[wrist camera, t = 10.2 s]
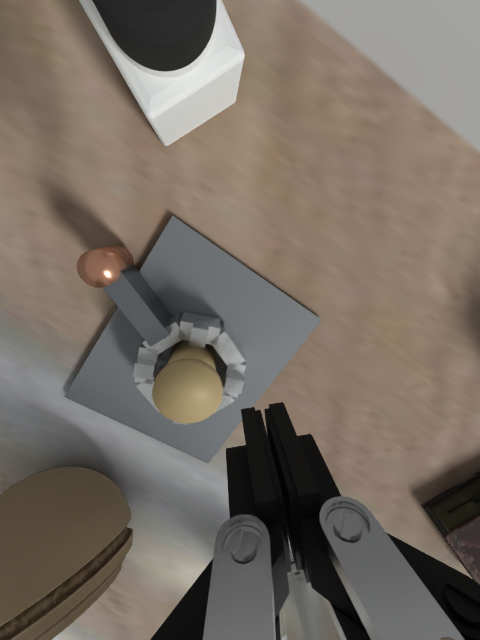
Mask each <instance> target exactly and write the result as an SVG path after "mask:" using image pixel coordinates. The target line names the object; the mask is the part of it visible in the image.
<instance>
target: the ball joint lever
mask: <svg viewBox="0 0 480 640" xmlns="http://www.w3.org/2000/svg"><path fill="white" fill-rule="evenodd" d="M133 263H134V262H133V257H132V255H131V253H130V252H129V251H128V250H127V249H126V248H124V247H122V246H118V245H113V246H108V247H104V248H99V249H94V250H90V251H87V252H85V253H83V254H82V255H81V256H80V258H79V260H78V262H77V270H78V273H79V275H80V277H81V278H82V280H83V281H84V282H85V283H87V284H88V285H90V286H93V287H98V288H101V287H102V288H103V289H104V290H105V291H106V293H107V294H108V295H109V296H110V298H111V299H112V300H113V301H114V302H115V304H116V305H117V306H118V307H119V309H120V310H121V311H122V312H123V314H124V315H125V316H126V317H127V319H128V320H129V321H130V322H131V323H132V325H133V326H134V327H135V328H136V330H137V331H138V332H139V333H140V335H141V336H142V337H143V338H144V340H143V342H142V343H141V345H140V347H139V352H138V358H137V360H136V362H135V366H134V373H133V377H135V380H134V382H137V384H136V387H137V388H138V389H139V391H140V392H141V393H142V394H143V395H144V396H145V397H146V399H147V400H148V401H149V402H150V403H151V404H152V405H153V406H154V408H155V409H156V410H157V411H158V409H157V408H156V406H155V404H154V402H153V398H152V389H153V385H154V382H155V379H156V377H157V375H158V373H159V372H160V371H161V370H162V369H161V368H160V367H159V362H160V356H161V352H163V351H164V350H166V349H168V348H169V347H171V346H172V345H174V344H176V343H177V342H179V341H181V340H182V339H183V340H189V341H190V342H189V345H192V346H197V347H203V348H205V344H211V345H213V347H214V348H215V349H216V351H217V352H218V354H219V355H220V356H221V358H222V359H223V361H224V365H223V369H222V373H221V376H220V378H221V381H222V389H223V396H222V401H221V403H220V406H219V407H218V409H217V410H216V411H215V412H217V411H219V410H220V409H222V408H224V407H226V406H227V405H229V404H231V403H232V402H234V397H238V394H241V392H242V388H243V385H244V376H243V375H244V372H245V368H246V363H245V358H244V354H243V349H242V347H241V346H240V344H239V343H238V341H237V340H236V338H235V337H234V335H233V334H232V332H231V331H230V329H229V328H228V327H227V325H226V324H225V322H224V321H223V322H221V323H220V318H215V317H210V316H205V315H200V314H195V313H190V312H185V311H184V313H183V316H181V314H180V313H177V314H175V315H174V316H172V315H171V314H170V313H169V311H168V310H167V309H166V307H165V306H164V305H163V303H162V302H161V301H160V299H159V298H158V297H157V295H156V294H155V293H154V291H153V290H152V289H151V287H150V286H149V285H148V283H147V282H146V281H145V279H144V278H143V277H142V275H141V274H140V273H139V271H138V270H137V269H136V267H135V266H134V264H133ZM158 412H159V411H158ZM215 412H214V413H215ZM214 413H213V414H214ZM173 423H177V424H184V425H188V423H179V422H175V421H174V422H173Z"/></svg>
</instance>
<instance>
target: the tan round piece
mask: <svg viewBox="0 0 480 640" xmlns="http://www.w3.org/2000/svg"><path fill="white" fill-rule="evenodd" d="M130 519H131V512H130V509H129V506H128V503H127V501H126V499H125V497H124V495H123V493H122V492H121V490H120V489H119V488H118V486H117V485H116V484H115V483H114V482H113V481H112V480H110V479H109V478H108V477H106V476H105V475H103V474H101V473H99V472H97V471H94V470H92V469H88V468H83V467H58V468H53V469H49V470H45V471H42V472H39V473H36V474H34V475H32V476H29V477H27V478H25V479H23V480H21V481H20V482H18V483H16V484H15V485H13V486H11V487H10V488H8V489H7V490H6V491H4V492H3V493H2V494H0V640H51V639H53V638H54V637H55V636H57V635H58V634H59V633H60V632H62V631H63V630H64V629H65V628H67V627H68V626H69V625H70V624H71V623H73V622H74V621H75V620H76V619H77V618H78V617H79V616H81V615H82V614H83V613H84V612H85V611H86V610H87V609H88V608H89V607H90V606H91V605H92V604H93V603H94V602H95V601H96V600H97V599H98V598H99V597H100V596H101V595H102V594H103V593H104V592H105V591H106V590H107V588H108V587H109V586H110V585H111V584H112V582H113V581H114V580H115V578H116V577H117V575H118V574H119V572H120V570H121V568H122V562H123V560H124V558H125V556H126V554H127V553H128V551H129V550H130V548H131V546H132V536H133V530H132V529H131V528H127V524H128V523H129V521H130Z"/></svg>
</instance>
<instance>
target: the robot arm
mask: <svg viewBox="0 0 480 640" xmlns="http://www.w3.org/2000/svg"><path fill="white" fill-rule="evenodd" d="M241 415H242V421H243V428H244V434H245V441H246V445H244V446H238V447H232V448H227V449H226V460H227V477H228V494H229V511H230V519H229V520H227V521H226V522H225V523H224V524H223V525H222V527H221V529H220V530H219V532H218V534H217V538H216V542H215V550H214V557H213V559H212V560H211V562H210V563H209V564H208V566H207V567H206V568H205V570H204V571H203V572H202V573H201V575H200V576H199V577H198V579H197V580H196V581H195V583H194V584H193V585H192V586H191V588H190V589H189V590H188V592H187V593H186V594H185V596H184V597H183V598H182V599H181V601H180V602H179V603H178V605H177V606H176V607H175V609H174V610H173V611H172V612H171V614H170V615H169V616H168V618H167V619H166V620H165V622H164V623H163V624H162V625H161V627H160V628H159V629H158V631H157V632H156V633H155V634H154V636H153V637H152V638H151V640H283V639H284V640H480V584H479V583H477V582H476V581H474V580H473V579H471V578H470V577H468V576H466V575H464V574H463V573H461V572H459V571H457V570H455V569H453V568H451V567H449V566H448V565H446V564H444V563H442V562H440V561H438V560H436V559H435V558H433V557H431V556H429V555H427V554H425V553H423V552H421V551H420V550H418V549H416V548H414V547H412V546H410V545H408V544H407V543H405V542H403V541H401V540H399V539H397V538H395V537H393V536H392V535H390V534H388V533H386V532H385V531H384V529H383V528H382V527H381V525H380V524H379V522H378V521H377V520H376V518H375V517H374V516H373V514H372V513H371V512H370V511H369V510H368V508H367V507H366V506H365V505H363V504H362V503H360V502H359V501H357V500H355V499H352V498H350V497H343V496H341V495H340V492H339V490H338V488H337V486H336V484H335V482H334V480H333V478H332V476H331V474H330V472H329V470H328V467H327V465H326V463H325V461H324V459H323V457H322V455H321V453H320V451H319V449H318V447H317V445H316V443H315V440H314V438H313V437H312V435H311V434H307V435H301V436H297V435H296V432H295V430H294V427H293V425H292V423H291V420H290V418H289V415H288V413H287V410H286V408H285V405H284V403H283V402H281V403H275V404H269V409H265V419H266V427H267V433H266V429H265V425H264V422H263V418H262V414H261V410H257V411H255V408H254V407H251V408H245V409H241ZM267 435H268V437H267ZM287 533H288V534H287ZM288 537H289V541H290V545H291V549H292V553H293V557H294V562H295V563H293V564H291V561H290V552H289V543H288Z"/></svg>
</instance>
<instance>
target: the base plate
mask: <svg viewBox="0 0 480 640" xmlns="http://www.w3.org/2000/svg"><path fill="white" fill-rule="evenodd" d="M139 273H140V274H141V275H142V277H143V278H144V279H145V281H146V282H147V283H148V285H149V286H150V287H151V289H152V290H153V291H154V293H155V294H156V295H157V297H158V298H159V299H160V301H161V302H162V303H163V305H164V306H165V307H166V309H167V310H168V311H169V313H170V314H171V315H172V316H174V315H175V314H177V313H180V314H181V316H183V313H184V311H185V312H190V313H195V314H200V315H205V316H210V317H215V318H220V323H221V322H223V321H224V322H225V324H226V325H227V327H228V328H229V329H230V331H231V332H232V334H233V335H234V337H235V338H236V340H237V341H238V343H239V344H240V346H241V347H242V349H243V354H244V358H245V363H246V368H245V372H244V375H243V376H244V385H243V388H242V392H241V394H238V397H234V402H232V403H231V404H229V405H227V406H226V407H224V408H222V409H220V410H219V411H217V412H215V411H216V410H217V409H218V407H219V406H220V403H221V401H222V396H223V389H222V381H221V378H220V376H221V373H222V369H223V365H224V361H223V359H222V358H221V356H220V355H219V354H218V352H217V351H216V349H215V348H214V347H213V345H211V344H205V348H203V347H197V346H192V345H189V342H190V341H189V340H183V339H182V340H181V341H179V342H177V343H176V344H174V345H172V346H171V347H169V348H168V349H166V350H164V351H163V352H161V356H160V362H159V367H160V368H161V369H162V370H161V371H160V372H159V373H158V375H157V377H156V379H155V382H154V385H153V389H152V398H153V402H154V404H155V406H156V408H157V409H158V411H159V412H158V411H157V410H156V409H155V408H154V406H153V405H152V404H151V403H150V402H149V401H148V400H147V399H146V397H145V396H144V395H143V394H142V393H141V392H140V391H139V389H138V388H137V387H136V384H137V382H134V380H135V377H133V373H134V366H135V362H136V360H137V358H138V352H139V347H140V345H141V343H142V342H143V340H144V338H143V337H142V336H141V335H140V333H139V332H138V331H137V330H136V328H135V327H134V326H133V325H132V323H131V322H130V321H129V320H128V319H127V317H126V316H125V315H124V314H123V312H122V311H121V310H120V309H119V307H118V308H117V309H116V311H115V313H114V314H113V316H112V318H111V319H110V321H109V323H108V324H107V326H106V328H105V329H104V331H103V333H102V334H101V336H100V338H99V339H98V341H97V343H96V344H95V346H94V348H93V349H92V351H91V353H90V354H89V356H88V358H87V359H86V361H85V363H84V364H83V366H82V368H81V369H80V371H79V373H78V374H77V376H76V378H75V379H74V381H73V383H72V384H71V386H70V388H69V389H68V391H67V393H66V395H65V396H64V397H66V398H68V399H70V400H72V401H75V402H77V403H79V404H81V405H83V406H85V407H88V408H90V409H92V410H94V411H96V412H98V413H101V414H103V415H105V416H107V417H109V418H111V419H114V420H116V421H118V422H120V423H122V424H124V425H127V426H129V427H131V428H133V429H135V430H137V431H139V432H142V433H144V434H146V435H148V436H150V437H152V438H155V439H157V440H159V441H161V442H163V443H165V444H168V445H170V446H172V447H174V448H176V449H178V450H181V451H183V452H185V453H187V454H189V455H191V456H194V457H196V458H198V459H200V460H202V461H204V462H206V463H208V462H209V461H210V460H211V459H212V457H213V456H214V455H215V454H216V452H217V451H218V450H219V449H220V447H221V446H222V445H223V444H224V442H225V441H226V440H227V438H228V437H229V436H230V435H231V433H232V432H233V431H234V430H235V428H236V427H237V426H238V425H239V423H240V422H241V421H242V415H241V409H245V408H251V407H253V406H254V404H255V403H256V402H257V401H258V399H259V398H260V397H261V396H262V394H263V393H264V392H265V391H266V389H267V388H268V387H269V386H270V384H271V383H272V382H273V380H274V379H275V378H276V377H277V375H278V374H279V373H280V372H281V370H282V369H283V368H284V367H285V365H286V364H287V363H288V362H289V360H290V359H291V358H292V356H293V355H294V354H295V353H296V351H297V350H298V349H299V348H300V346H301V345H302V344H303V343H304V341H305V340H306V339H307V338H308V336H309V335H310V334H311V333H312V331H313V330H314V329H315V327H316V326H317V325H318V324H319V322H320V321H321V319H320V318H319V317H318V316H316V315H315V314H313V313H312V312H310V311H309V310H308V309H306V308H305V307H303V306H302V305H300V304H299V303H298V302H296V301H295V300H293V299H292V298H290V297H289V296H288V295H286V294H285V293H283V292H282V291H280V290H279V289H277V288H276V287H275V286H273V285H272V284H270V283H269V282H267V281H266V280H265V279H263V278H262V277H260V276H259V275H257V274H256V273H255V272H253V271H252V270H250V269H249V268H247V267H246V266H245V265H243V264H242V263H240V262H239V261H237V260H236V259H235V258H233V257H232V256H230V255H229V254H227V253H226V252H225V251H223V250H222V249H220V248H219V247H217V246H216V245H214V244H213V243H212V242H210V241H209V240H207V239H206V238H204V237H203V236H202V235H200V234H199V233H197V232H196V231H194V230H193V229H192V228H190V227H189V226H187V225H186V224H184V223H183V222H182V221H180V220H179V219H177V218H176V217H174V216H172V217H171V219H170V221H169V222H168V224H167V226H166V227H165V229H164V231H163V232H162V234H161V236H160V237H159V239H158V241H157V242H156V244H155V246H154V247H153V249H152V251H151V252H150V254H149V256H148V257H147V259H146V261H145V262H144V264H143V266H142V267H141V269H140V271H139ZM214 412H215V413H214ZM213 413H214V414H213ZM174 421H175V422H179V423H188V425H184V424H177V423H173V422H174Z"/></svg>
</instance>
